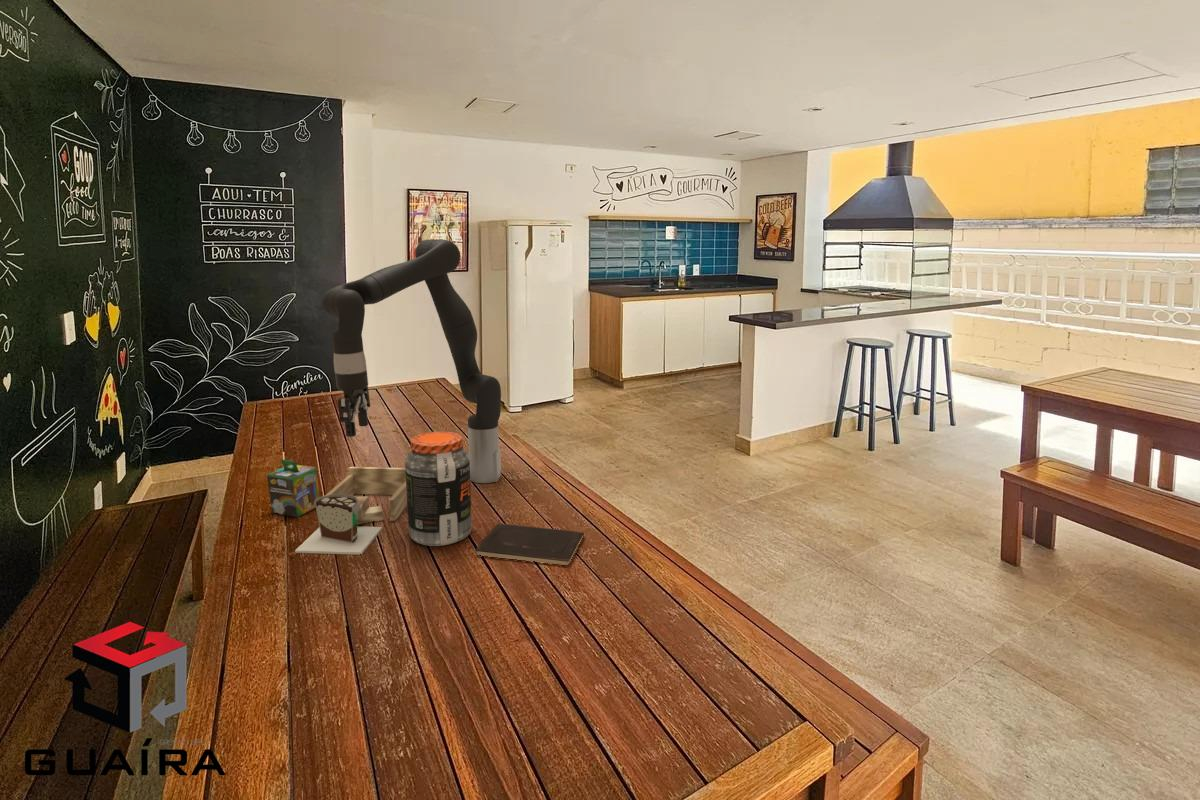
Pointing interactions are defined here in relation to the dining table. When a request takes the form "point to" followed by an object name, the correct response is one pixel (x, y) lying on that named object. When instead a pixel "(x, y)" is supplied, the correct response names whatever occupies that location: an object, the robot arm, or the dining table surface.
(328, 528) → the food container
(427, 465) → the supplement tub
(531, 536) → the hardcover book
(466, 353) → the robot arm
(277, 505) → the chalk box
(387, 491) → the frame
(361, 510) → the offcut upper
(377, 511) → the offcut lower
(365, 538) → the mat
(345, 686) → the dining table surface
